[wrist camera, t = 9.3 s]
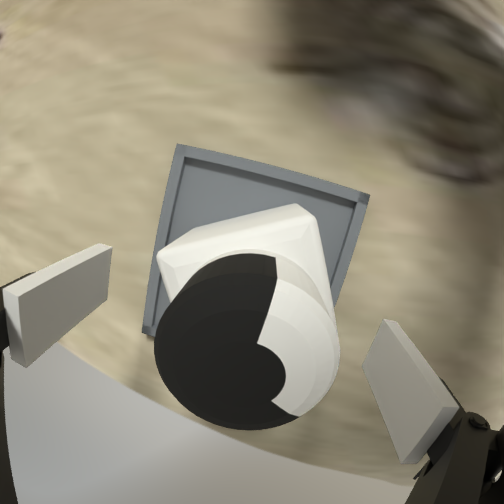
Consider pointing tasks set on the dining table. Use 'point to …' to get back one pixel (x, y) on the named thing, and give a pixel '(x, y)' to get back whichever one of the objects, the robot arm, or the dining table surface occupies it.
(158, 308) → the tray
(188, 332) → the container
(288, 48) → the dining table surface
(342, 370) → the dining table surface
